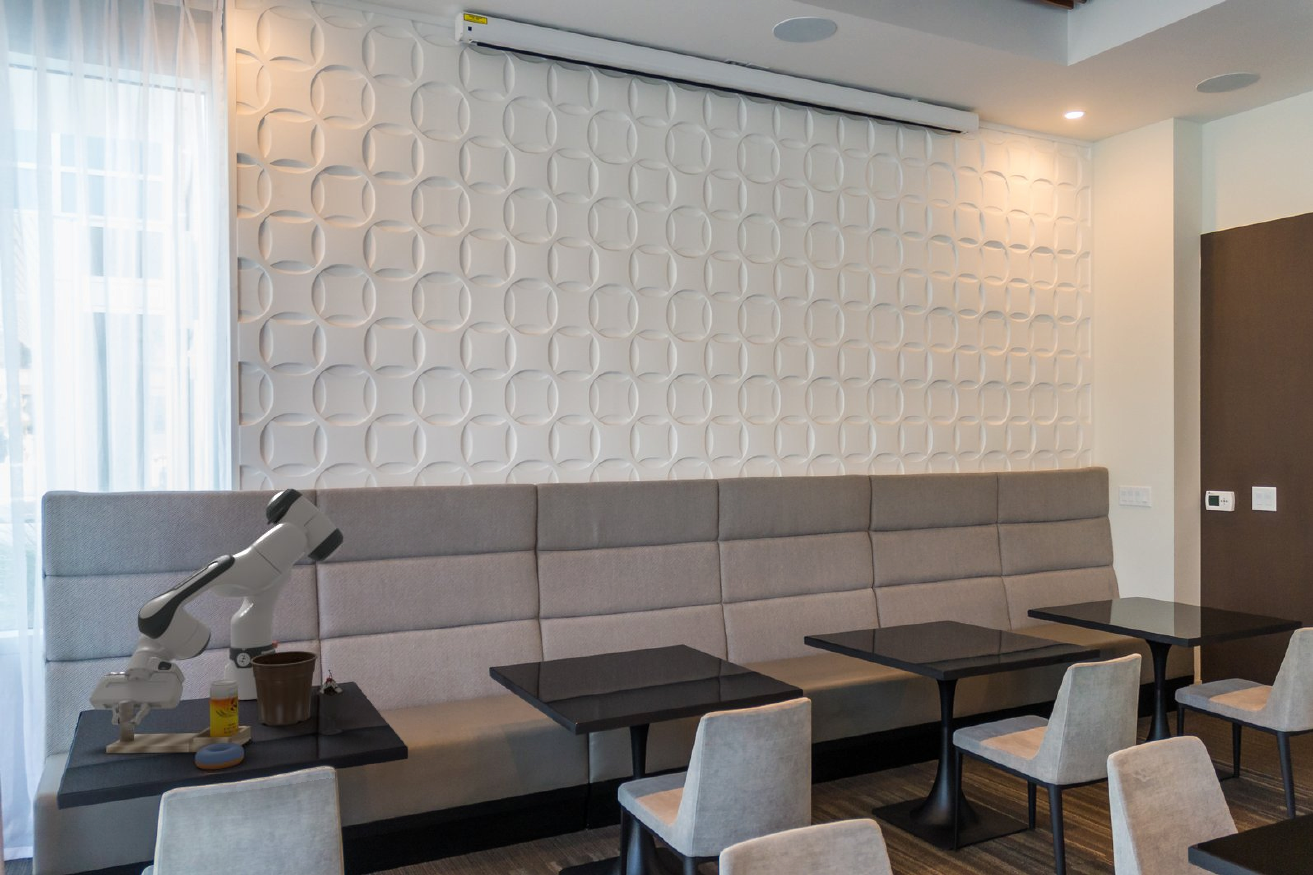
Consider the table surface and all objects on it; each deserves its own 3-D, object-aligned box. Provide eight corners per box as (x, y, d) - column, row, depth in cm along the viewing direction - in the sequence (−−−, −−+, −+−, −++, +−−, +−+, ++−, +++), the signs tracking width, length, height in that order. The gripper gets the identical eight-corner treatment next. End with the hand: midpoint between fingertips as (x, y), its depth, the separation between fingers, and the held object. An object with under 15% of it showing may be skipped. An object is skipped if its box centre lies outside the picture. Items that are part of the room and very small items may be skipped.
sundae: (331, 727, 245) (330, 667, 246) (351, 730, 242) (350, 669, 243) (311, 734, 240) (310, 672, 240) (331, 737, 237) (330, 675, 237)
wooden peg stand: (106, 753, 226) (106, 707, 226) (129, 740, 236) (129, 696, 236) (232, 751, 226) (232, 705, 226) (250, 738, 236) (250, 694, 236)
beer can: (228, 750, 228) (227, 685, 228) (204, 749, 229) (204, 684, 229) (243, 742, 233) (243, 679, 234) (220, 741, 235) (220, 678, 235)
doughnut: (206, 773, 210) (208, 751, 211) (186, 766, 217) (187, 745, 217) (251, 766, 218) (253, 745, 218) (230, 760, 224) (231, 739, 225)
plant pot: (319, 724, 248) (319, 660, 249) (250, 732, 243) (249, 666, 243) (316, 709, 264) (316, 648, 264) (251, 716, 258) (250, 654, 258)
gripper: (98, 665, 238) (74, 717, 228) (182, 664, 238) (163, 715, 228) (108, 680, 243) (86, 731, 233) (191, 678, 243) (172, 729, 233)
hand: (125, 723), depth 231 cm, fingers closed on wooden peg stand, 3 cm apart
